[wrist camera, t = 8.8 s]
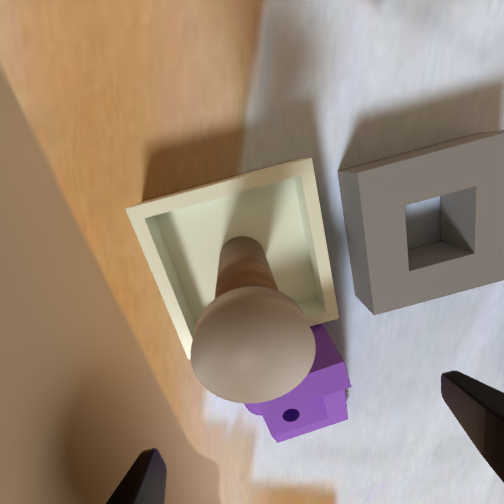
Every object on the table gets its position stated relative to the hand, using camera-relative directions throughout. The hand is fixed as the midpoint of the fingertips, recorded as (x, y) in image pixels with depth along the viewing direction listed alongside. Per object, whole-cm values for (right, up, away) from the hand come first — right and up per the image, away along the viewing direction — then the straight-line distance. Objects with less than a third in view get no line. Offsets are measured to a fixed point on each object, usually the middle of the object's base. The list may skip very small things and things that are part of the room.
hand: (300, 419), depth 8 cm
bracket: (+2, -6, +16) cm, 17 cm away
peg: (-2, +5, +11) cm, 12 cm away
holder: (+11, +7, +12) cm, 18 cm away
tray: (-2, +5, +12) cm, 13 cm away
